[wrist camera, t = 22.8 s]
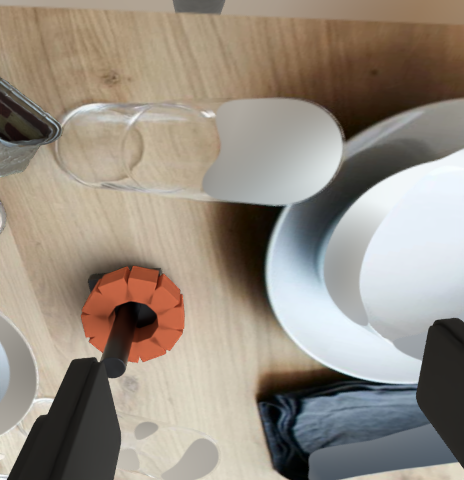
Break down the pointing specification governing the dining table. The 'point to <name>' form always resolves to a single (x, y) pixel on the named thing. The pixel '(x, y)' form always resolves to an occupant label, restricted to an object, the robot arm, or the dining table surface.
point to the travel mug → (2, 217)
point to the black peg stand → (123, 331)
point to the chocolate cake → (22, 129)
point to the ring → (142, 291)
